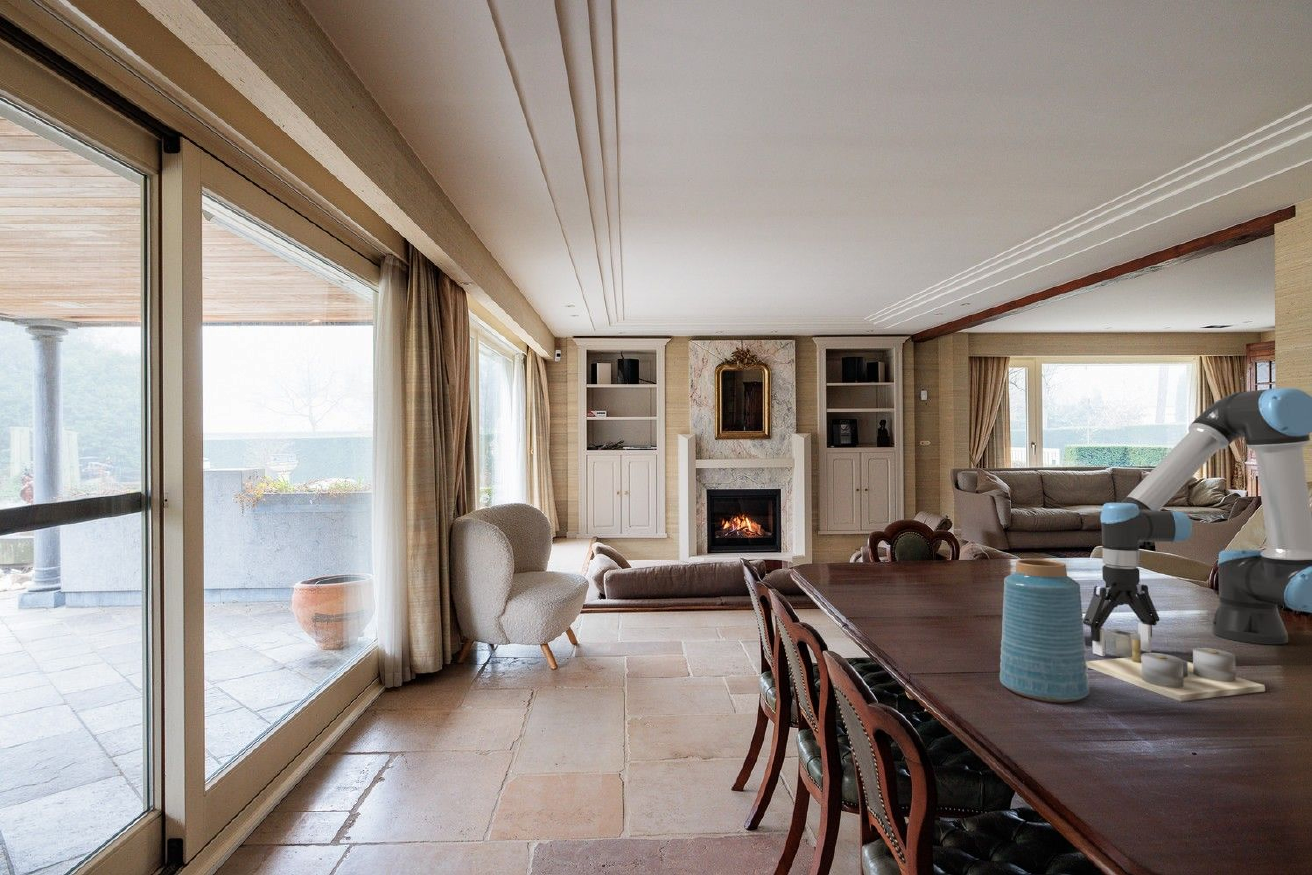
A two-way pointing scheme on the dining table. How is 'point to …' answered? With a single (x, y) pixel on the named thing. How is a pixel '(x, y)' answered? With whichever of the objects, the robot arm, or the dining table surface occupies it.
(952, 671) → the dining table surface
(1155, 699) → the dining table surface
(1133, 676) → the carrier
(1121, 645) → the octagonal tube
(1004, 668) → the vase
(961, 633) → the dining table surface
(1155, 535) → the robot arm
